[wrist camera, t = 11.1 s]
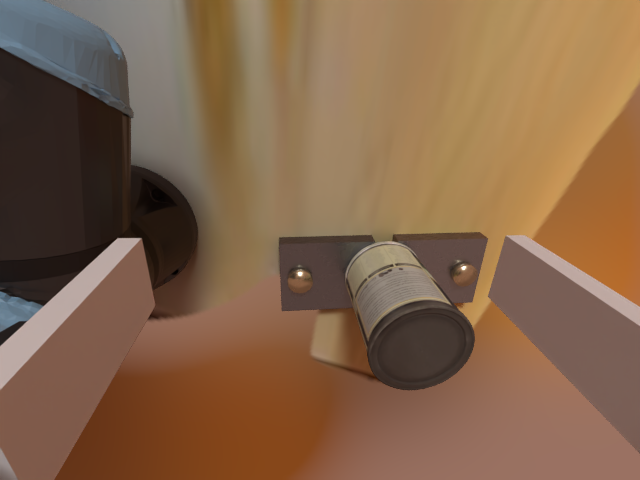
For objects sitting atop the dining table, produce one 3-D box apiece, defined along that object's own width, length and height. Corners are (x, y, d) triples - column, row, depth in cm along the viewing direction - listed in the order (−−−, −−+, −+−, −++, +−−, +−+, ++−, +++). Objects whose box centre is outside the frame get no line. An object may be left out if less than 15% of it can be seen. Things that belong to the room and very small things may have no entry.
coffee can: (436, 263, 44) (497, 334, 32) (388, 318, 47) (426, 403, 35) (375, 225, 41) (416, 288, 28) (329, 287, 44) (347, 368, 31)
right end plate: (386, 297, 48) (392, 310, 46) (393, 234, 44) (400, 244, 41) (465, 294, 49) (475, 306, 47) (479, 232, 45) (492, 241, 43)
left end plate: (282, 302, 47) (281, 315, 44) (279, 237, 43) (279, 247, 40) (365, 298, 48) (370, 311, 45) (371, 235, 44) (377, 245, 41)
